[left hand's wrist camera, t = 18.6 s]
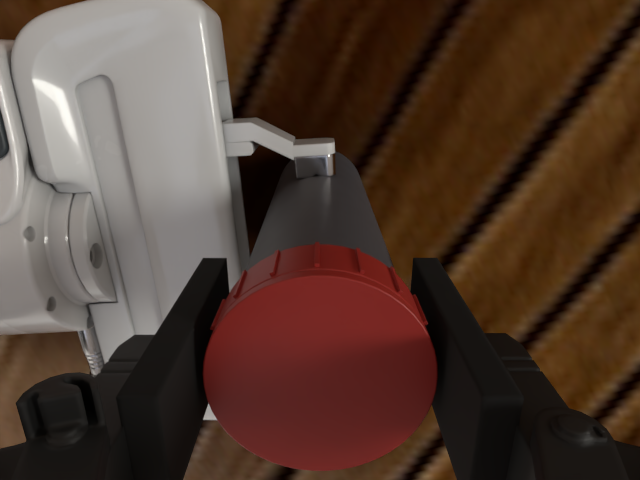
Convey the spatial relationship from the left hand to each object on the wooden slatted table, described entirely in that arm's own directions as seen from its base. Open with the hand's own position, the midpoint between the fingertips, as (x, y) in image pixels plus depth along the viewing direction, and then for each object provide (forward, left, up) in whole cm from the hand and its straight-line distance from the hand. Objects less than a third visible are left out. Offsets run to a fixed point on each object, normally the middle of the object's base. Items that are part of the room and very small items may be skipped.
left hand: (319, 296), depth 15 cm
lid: (0, 0, +4) cm, 4 cm away
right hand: (+1, -1, -7) cm, 7 cm away
